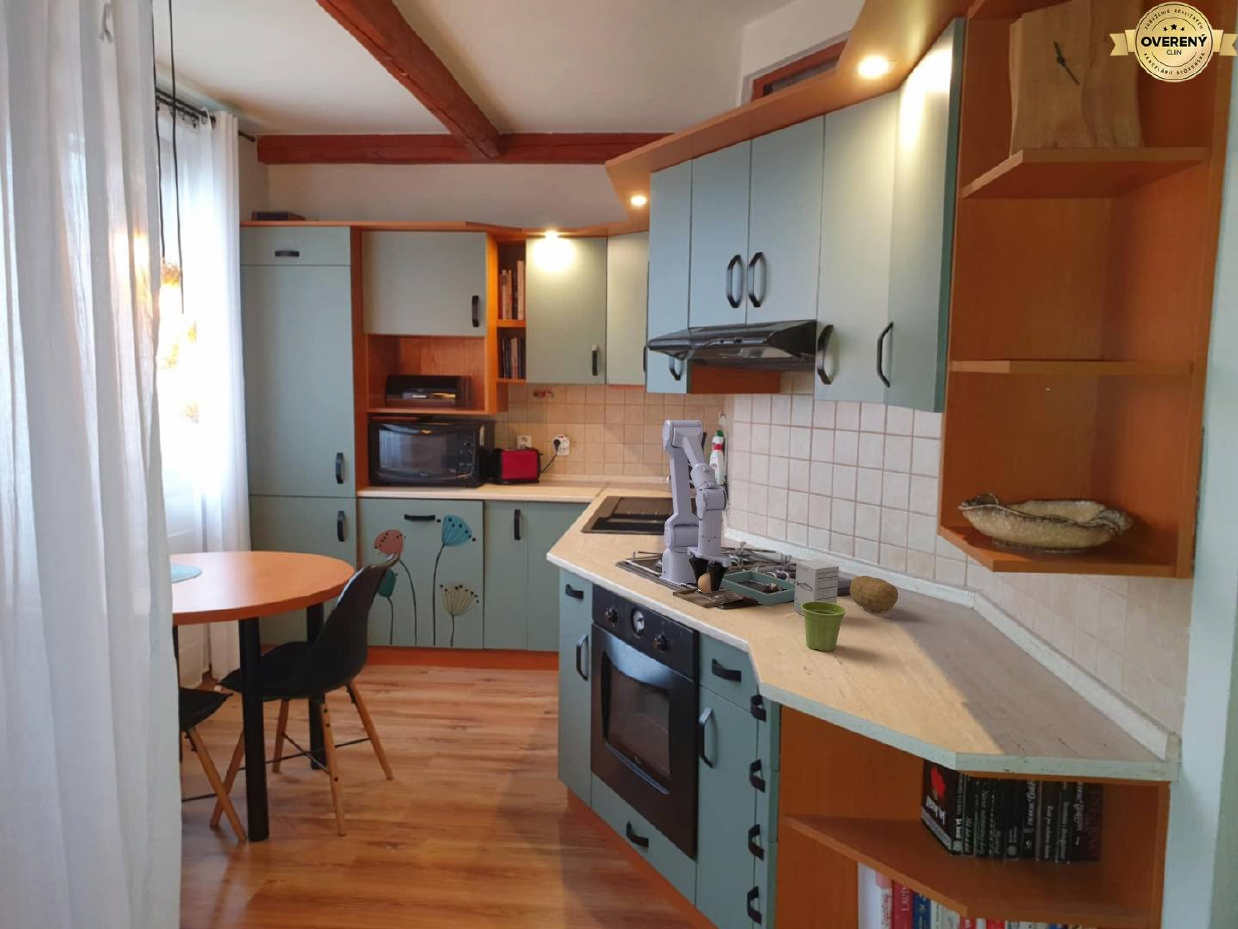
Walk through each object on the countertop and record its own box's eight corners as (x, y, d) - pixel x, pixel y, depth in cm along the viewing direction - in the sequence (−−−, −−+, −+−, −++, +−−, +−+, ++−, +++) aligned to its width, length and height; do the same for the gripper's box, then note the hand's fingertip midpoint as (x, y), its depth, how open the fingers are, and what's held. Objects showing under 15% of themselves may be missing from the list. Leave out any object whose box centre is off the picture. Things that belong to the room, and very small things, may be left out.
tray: (712, 587, 219) (713, 576, 219) (750, 580, 227) (751, 569, 227) (766, 607, 203) (767, 595, 203) (805, 598, 211) (806, 587, 211)
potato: (869, 600, 211) (871, 569, 210) (907, 616, 198) (909, 584, 197) (837, 603, 208) (839, 572, 207) (874, 620, 195) (876, 587, 194)
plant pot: (826, 637, 183) (828, 599, 181) (852, 651, 174) (855, 612, 173) (790, 641, 179) (792, 603, 178) (815, 656, 170) (817, 616, 169)
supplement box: (792, 612, 200) (795, 561, 198) (816, 608, 204) (819, 558, 202) (812, 621, 194) (815, 568, 192) (837, 617, 197) (840, 565, 195)
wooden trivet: (672, 596, 211) (672, 592, 210) (709, 589, 218) (709, 585, 218) (705, 609, 200) (705, 604, 200) (743, 601, 208) (743, 597, 208)
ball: (693, 591, 210) (694, 572, 209) (708, 589, 213) (709, 570, 212) (706, 596, 206) (707, 577, 205) (721, 593, 208) (722, 574, 208)
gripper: (679, 531, 211) (677, 583, 212) (717, 543, 199) (715, 597, 201) (700, 528, 215) (698, 579, 217) (738, 540, 203) (736, 593, 205)
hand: (707, 588), depth 209 cm, fingers closed on ball, 5 cm apart
